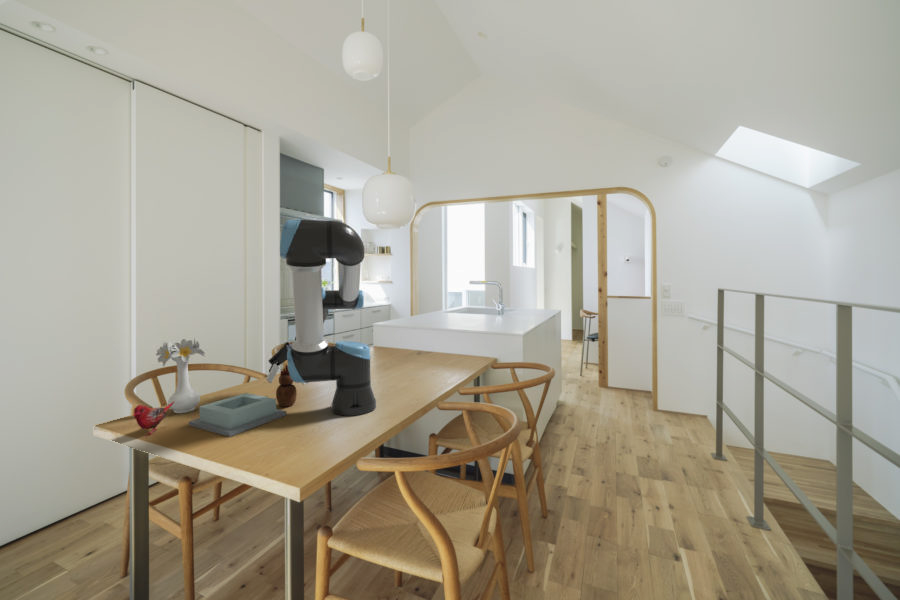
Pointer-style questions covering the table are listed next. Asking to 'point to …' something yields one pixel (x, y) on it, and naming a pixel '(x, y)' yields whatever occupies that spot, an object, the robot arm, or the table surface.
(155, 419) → the decorative bird figurine
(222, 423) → the collar stand
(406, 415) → the table surface
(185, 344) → the flower vase
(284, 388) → the wooden figurine
